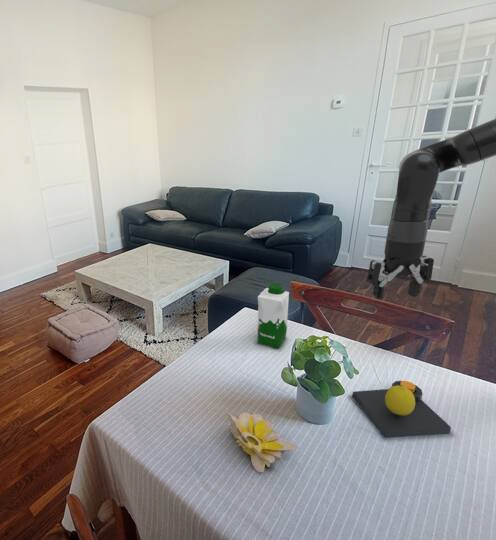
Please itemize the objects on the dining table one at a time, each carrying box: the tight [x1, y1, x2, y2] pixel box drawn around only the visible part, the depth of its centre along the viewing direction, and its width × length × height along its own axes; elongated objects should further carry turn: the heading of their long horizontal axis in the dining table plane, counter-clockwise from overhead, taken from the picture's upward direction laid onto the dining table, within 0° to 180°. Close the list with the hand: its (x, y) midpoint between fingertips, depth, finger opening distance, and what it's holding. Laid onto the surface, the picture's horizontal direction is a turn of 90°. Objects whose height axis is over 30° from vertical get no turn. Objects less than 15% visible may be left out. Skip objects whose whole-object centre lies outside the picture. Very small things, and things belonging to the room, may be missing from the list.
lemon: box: [385, 386, 415, 416], centre depth 79 cm, size 6×6×8 cm
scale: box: [351, 380, 452, 438], centre depth 82 cm, size 15×14×4 cm
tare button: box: [400, 380, 416, 393], centre depth 85 cm, size 3×3×2 cm
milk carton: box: [257, 283, 290, 350], centre depth 113 cm, size 9×9×20 cm
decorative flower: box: [225, 410, 297, 473], centre depth 75 cm, size 15×11×10 cm
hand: (395, 296), depth 88 cm, fingers open, 8 cm apart
